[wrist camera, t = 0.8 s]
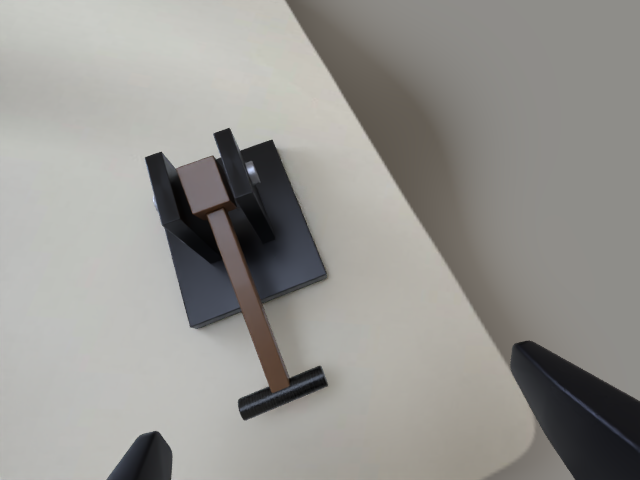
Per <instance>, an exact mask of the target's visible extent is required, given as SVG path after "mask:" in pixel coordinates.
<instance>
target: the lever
mask: <svg viewBox="0 0 640 480" xmlns="http://www.w3.org/2000/svg"><path fill="white" fill-rule="evenodd" d="M176 171H177V173H178V176H179V179H180V181H181V184H182V187H183V190H184V192H185V195H186V198H187V201H188V203H189V206H190V209H191V212H192V214H193V215H195V216H197V217H199V218H201V219H202V220H207V219H208V221H209V224H210V227H211V229H212V232H213V235H214V237H215V240H216V243H217V246H218V248H219V251H220V254H221V256H222V259H223V262H224V265H225V267H226V270H227V273H228V275H229V278H230V281H231V284H232V286H233V289H234V292H235V294H236V297H237V300H238V303H239V305H240V308H241V311H242V313H243V316H244V319H245V322H246V324H247V327H248V330H249V332H250V335H251V338H252V341H253V343H254V346H255V349H256V351H257V354H258V357H259V360H260V362H261V365H262V368H263V370H264V373H265V376H266V379H267V381H268V384H269V387H266V388H264V389H262V390H259V391H257V392H254V393H252V394H249V395H247V396H245V397H242V398H240V399H239V400H238V407H239V411H240V414H241V417H242V418H243V420H248V419H250V418H253V417H255V416H258V415H260V414H262V413H265V412H267V411H270V410H272V409H274V408H277V407H279V406H282V405H284V404H286V403H289V402H291V401H294V400H296V399H298V398H301V397H303V396H306V395H308V394H310V393H313V392H315V391H318V390H320V389H322V388H325V387H327V386H328V383H327V380H326V377H325V374H324V372H323V369H322V367H321V366H317V367H315V368H313V369H310V370H308V371H305V372H303V373H300V374H298V375H296V376H293V377H291V378H289V375H288V372H287V369H286V367H285V364H284V361H283V359H282V356H281V353H280V351H279V348H278V345H277V343H276V340H275V337H274V335H273V332H272V329H271V327H270V324H269V321H268V318H267V316H266V313H265V310H264V308H263V305H262V302H261V300H260V297H259V294H258V292H257V289H256V286H255V284H254V281H253V278H252V276H251V273H250V270H249V267H248V265H247V262H246V259H245V257H244V254H243V251H242V249H241V246H240V243H239V241H238V238H237V235H236V233H235V230H234V227H233V225H232V222H231V219H230V217H229V214H228V212H229V211H231V210H234V209H237V205H236V202H235V200H234V197H233V194H232V192H231V189H230V186H229V184H228V181H227V178H226V176H225V173H224V170H223V168H222V166H221V165H220V164H219V163H218V161H217V160H216V159H215V157H214V156H210V157H207V158H204V159H201V160H198V161H196V162H193V163H190V164H187V165H184V166H181V167H179V168H176Z"/></svg>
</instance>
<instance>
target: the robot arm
mask: <svg viewBox="0 0 640 480" xmlns="http://www.w3.org/2000/svg"><path fill="white" fill-rule="evenodd" d="M510 367H511V372H512V374H513V376H514V378H515V380H516V382H517V384H518V385H519V387H520V389H521V391H522V393H523V395H524V397H525V398H526V400H527V402H528V404H529V406H530V408H531V410H532V411H533V413H534V415H535V417H536V419H537V421H538V422H539V424H540V426H541V428H542V430H543V431H544V433H545V435H546V436H547V438H548V440H549V441H550V443H551V444H552V446H553V447H554V449H555V450H556V451H557V453H558V455H559V456H560V457H561V459H562V460H563V462H564V464H565V465H566V467H567V468H568V469H569V471H570V472H571V474H572V475H573V477H574V478H575V480H640V401H638V400H637V399H635V398H633V397H631V396H630V395H628V394H626V393H624V392H622V391H621V390H619V389H617V388H615V387H613V386H611V385H610V384H608V383H606V382H604V381H603V380H601V379H599V378H597V377H595V376H594V375H592V374H590V373H588V372H587V371H585V370H583V369H581V368H579V367H578V366H576V365H574V364H572V363H570V362H569V361H567V360H565V359H563V358H561V357H560V356H558V355H556V354H554V353H552V352H551V351H549V350H547V349H545V348H544V347H542V346H540V345H538V344H536V343H534V342H532V341H524V342H519V343H516V344H514V345H513V347H512V355H511V364H510ZM171 473H172V451H171V449H170V447H169V445H168V444H167V443H166V441H165V440H164V438H163V437H162V436H161V434H160V433H159V432H157V431H153V432H149V433H145V434H142V435H140V436H139V437H138V438H137V439H136V440H135V442H134V443H133V444H132V446H131V447H130V448H129V450H128V451H127V453H126V454H125V455H124V457H123V458H122V459H121V461H120V462H119V463H118V465H117V466H116V467H115V469H114V470H113V472H112V473H111V474H110V476H109V477H108V478H107V480H171Z"/></svg>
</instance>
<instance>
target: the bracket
mask: <svg viewBox="0 0 640 480" xmlns="http://www.w3.org/2000/svg"><path fill="white" fill-rule="evenodd" d="M213 135H214V138H215V141H216V144H217V147H218V150H219V153H220V156H221V158H218V159H216V160H217V161H218V163H219V164H220V165H221V166H222V168H223V170H224V173H225V176H226V178H227V181H228V184H229V186H230V189H231V192H232V194H233V197H234V200H235V202H236V205H237V209H234V210H231V211H229V212H228V214H229V217H230V219H231V222H232V225H233V227H234V230H235V233H236V235H237V238H238V241H239V243H240V246H241V249H242V251H243V254H244V257H245V259H246V262H247V265H248V267H249V270H250V273H251V276H252V278H253V281H254V284H255V286H256V289H257V292H258V294H259V297H260V300H261V302H262V303H264V302H267V301H269V300H272V299H274V298H277V297H280V296H282V295H285V294H287V293H290V292H292V291H295V290H297V289H300V288H303V287H305V286H308V285H310V284H313V283H315V282H318V281H320V280H323V279H326V278H327V273H326V270H325V268H324V265H323V263H322V260H321V258H320V255H319V253H318V250H317V248H316V245H315V243H314V241H313V238H312V236H311V233H310V231H309V228H308V226H307V223H306V221H305V218H304V216H303V213H302V211H301V209H300V206H299V204H298V201H297V199H296V196H295V194H294V191H293V189H292V186H291V184H290V181H289V179H288V177H287V174H286V172H285V169H284V167H283V164H282V162H281V159H280V157H279V154H278V152H277V150H276V147H275V145H274V142H273V140H269V141H266V142H264V143H261V144H258V145H255V146H252V147H249V148H247V149H244V150H241V151H240V149H239V147H238V145H237V143H236V141H235V138H234V136H233V134H232V132H231V130H230V128H228V129H225V130H222V131H219V132H216V133H214V134H213ZM145 161H146V165H147V169H148V173H149V177H150V181H151V185H152V189H153V192H154V197H153V201H154V205H155V207H156V209H157V211H158V213H159V216H160V220H161V223H162V226H164V228H165V232H166V236H167V240H168V244H169V248H170V251H171V255H172V259H173V263H174V267H175V271H176V274H177V278H178V282H179V286H180V290H181V294H182V298H183V301H184V305H185V309H186V313H187V317H188V321H189V324H190V327H191V328H195V329H198V328H200V327H203V326H206V325H208V324H211V323H213V322H216V321H218V320H221V319H223V318H226V317H229V316H231V315H234V314H236V313H239V312H241V308H240V305H239V303H238V300H237V297H236V294H235V292H234V289H233V286H232V284H231V281H230V278H229V275H228V273H227V270H226V267H225V265H224V262H223V259H222V256H221V254H220V251H219V248H218V246H217V243H216V240H215V237H214V235H213V232H212V229H211V227H210V224H209V221H208V219H207V220H202V219H201V218H199V217H197V216H195V215H193V214H192V212H191V209H190V206H189V203H188V201H187V198H186V195H185V192H184V190H183V187H182V184H181V181H180V179H179V176H178V173H177V171H176V169H175V167H174V166H173V165H172V164H171V163H170V161H169V160H168V159H167V158H166V157H165V155H164V154H163V153H162V152H159V153H156V154H153V155H150V156H147V157H145Z"/></svg>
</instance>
